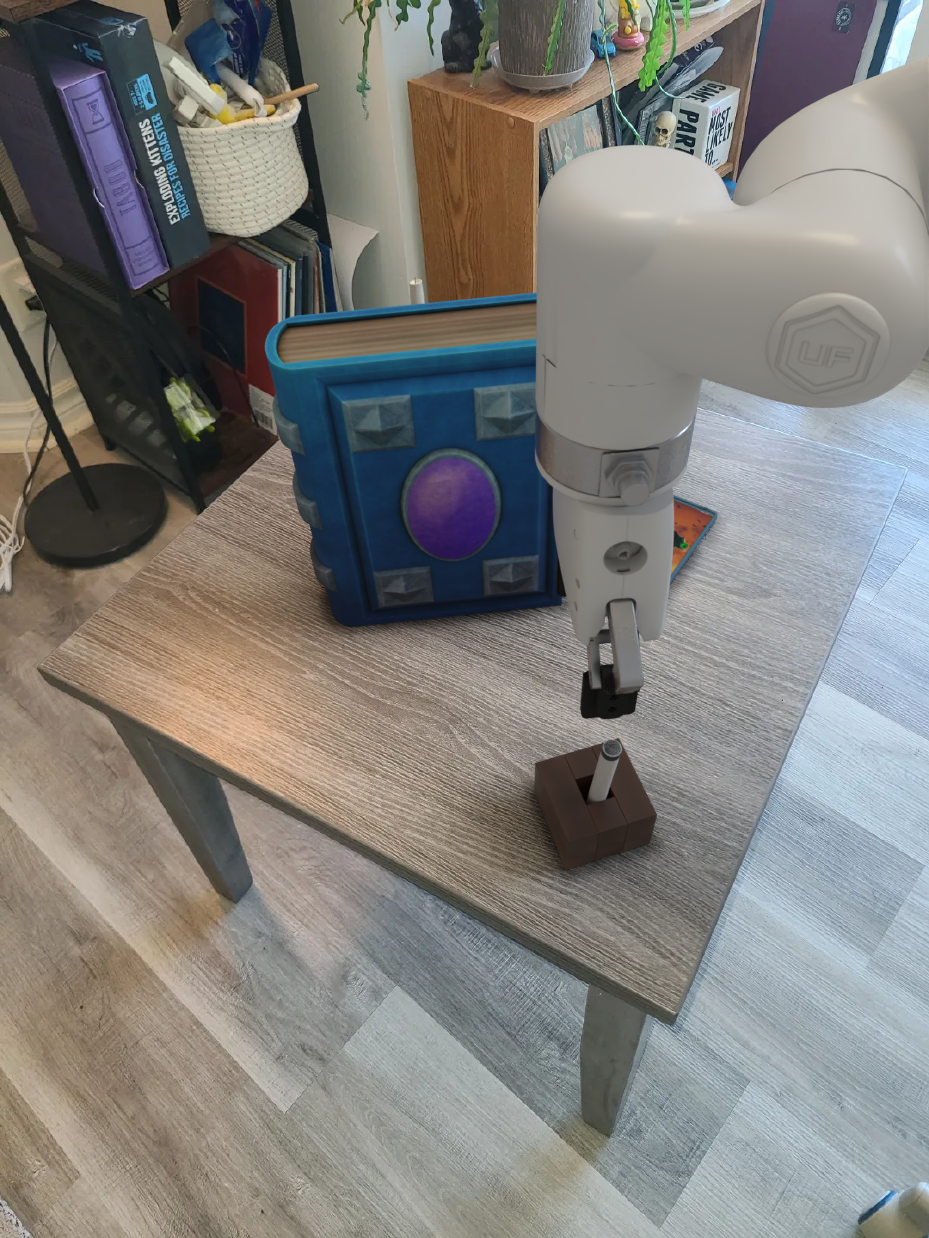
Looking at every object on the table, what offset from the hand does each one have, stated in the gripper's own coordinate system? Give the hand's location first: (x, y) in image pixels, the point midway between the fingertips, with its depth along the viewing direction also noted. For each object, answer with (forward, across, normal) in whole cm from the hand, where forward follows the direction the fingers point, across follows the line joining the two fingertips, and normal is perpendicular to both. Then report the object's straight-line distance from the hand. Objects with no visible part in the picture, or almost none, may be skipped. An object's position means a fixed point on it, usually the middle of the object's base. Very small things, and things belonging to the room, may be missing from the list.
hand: (592, 648), depth 56 cm
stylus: (+24, 0, -1) cm, 24 cm away
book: (+24, +27, +10) cm, 37 cm away
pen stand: (+24, 0, -1) cm, 24 cm away
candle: (+24, +62, +9) cm, 67 cm away
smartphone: (+24, +31, -13) cm, 41 cm away
